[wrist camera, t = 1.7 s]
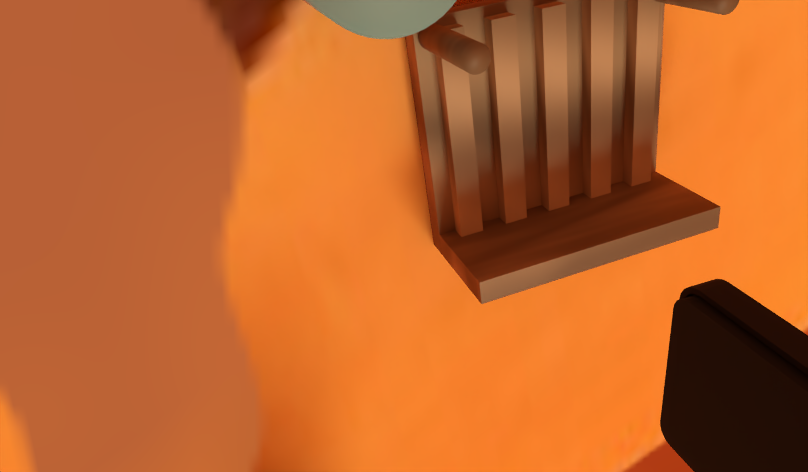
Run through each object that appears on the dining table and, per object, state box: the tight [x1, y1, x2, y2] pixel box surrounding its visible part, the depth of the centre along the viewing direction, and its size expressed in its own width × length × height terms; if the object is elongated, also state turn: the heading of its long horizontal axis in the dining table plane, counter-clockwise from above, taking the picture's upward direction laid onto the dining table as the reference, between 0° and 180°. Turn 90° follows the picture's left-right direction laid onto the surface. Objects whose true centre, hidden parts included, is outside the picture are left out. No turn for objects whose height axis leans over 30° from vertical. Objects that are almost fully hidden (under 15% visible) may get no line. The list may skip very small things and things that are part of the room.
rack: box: [405, 0, 739, 304], centre depth 31 cm, size 12×13×6 cm
